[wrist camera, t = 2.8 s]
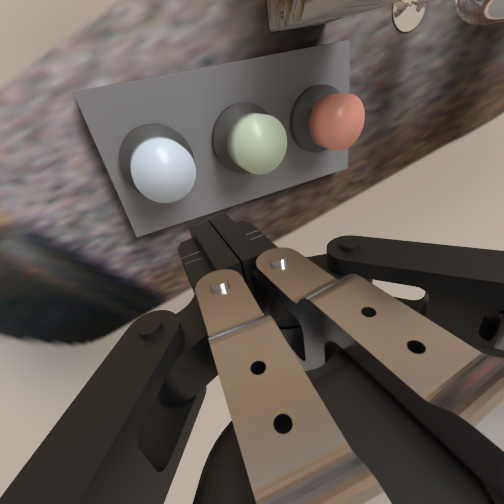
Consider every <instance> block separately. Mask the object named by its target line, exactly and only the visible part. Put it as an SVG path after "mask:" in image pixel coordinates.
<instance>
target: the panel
mask: <svg viewBox="0 0 504 504" xmlns="http://www.w3.org/2000/svg"><path fill="white" fill-rule="evenodd" d="M349 83H350V40H346V41H341V42H336V43H330V44H325V45H320V46H314V47H309V48H304V49H299V50H293V51H288V52H283V53H277V54H272V55H267V56H261V57H256V58H251V59H246V60H240V61H235V62H230V63H224V64H219V65H214V66H209V67H203V68H198V69H193V70H187V71H182V72H177V73H172V74H166V75H161V76H156V77H150V78H145V79H140V80H134V81H129V82H124V83H119V84H113V85H108V86H103V87H97V88H92V89H87V90H82V91H76V92H73V94H74V96H75V98H76V100H77V103H78V105H79V107H80V110H81V112H82V114H83V116H84V119H85V121H86V123H87V125H88V128H89V130H90V132H91V135H92V137H93V139H94V141H95V144H96V146H97V148H98V150H99V153H100V155H101V157H102V159H103V162H104V164H105V166H106V169H107V171H108V173H109V175H110V178H111V180H112V182H113V184H114V187H115V189H116V191H117V193H118V196H119V198H120V200H121V203H122V205H123V207H124V209H125V212H126V214H127V216H128V218H129V221H130V223H131V225H132V228H133V230H134V232H135V234H136V237H140V236H143V235H146V234H149V233H152V232H155V231H158V230H161V229H164V228H167V227H170V226H173V225H176V224H179V223H182V222H185V221H188V220H192V219H195V218H198V217H201V216H204V215H207V214H210V213H213V212H216V211H219V210H222V209H225V208H228V207H231V206H234V205H237V204H240V203H243V202H246V201H249V200H252V199H256V198H259V197H262V196H265V195H268V194H271V193H274V192H277V191H280V190H283V189H286V188H289V187H292V186H295V185H298V184H301V183H304V182H307V181H310V180H313V179H316V178H319V177H323V176H326V175H329V174H332V173H335V172H338V171H341V170H344V169H347V168H348V148H347V149H344V150H340V151H337V150H332V149H328V148H324V147H321V146H319V145H317V144H316V143H315V142H314V141H313V140H312V138H311V136H310V132H309V118H310V114H311V111H312V109H313V107H314V106H315V104H316V103H317V102H318V100H319V99H321V98H322V97H323V96H325V95H327V94H331V93H349ZM248 113H259V114H266V115H270V116H273V117H275V118H276V119H277V120H279V121H280V122H281V124H282V125H283V127H284V129H285V131H286V135H287V149H286V153H285V156H284V158H283V160H282V162H281V163H280V164H279V165H278V167H276V168H275V169H274V170H273V171H271V172H269V173H266V174H261V175H258V174H253V173H250V172H248V171H247V170H245V169H243V168H241V167H239V166H238V165H237V164H236V163H235V162H234V161H233V160H232V159H231V157H230V155H229V152H228V147H227V138H228V134H229V131H230V128H231V126H232V125H233V123H234V122H235V121H236V120H237V119H238V118H240V117H241V116H243V115H245V114H248ZM154 136H163V137H167V138H170V139H172V140H174V141H176V142H177V143H178V144H180V145H181V146H183V147H184V148H185V149H186V150H187V151H188V152H189V153H190V155H191V156H192V158H193V160H194V163H195V167H196V178H195V182H194V185H193V187H192V189H191V190H190V192H189V193H188V194H187V195H186V196H185V197H183V198H182V199H180V200H178V201H175V202H171V203H159V202H155V201H153V200H150V199H148V198H147V197H145V196H144V195H143V194H142V193H141V192H140V191H139V190H138V189H137V187H136V186H135V183H134V181H133V178H132V175H131V171H130V158H131V154H132V152H133V150H134V148H135V147H136V146H137V145H138V144H139V143H140V142H141V141H143V140H145V139H147V138H149V137H154Z"/></svg>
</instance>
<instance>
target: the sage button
mask: <svg viewBox="0 0 504 504" xmlns="http://www.w3.org/2000/svg"><path fill="white" fill-rule="evenodd" d="M227 147H228V152H229V155H230V157H231V159H232V160H233V161H234V162H235V163H236V164H237V165H238V166H239V167H241V168H243V169H245V170H247V171H248V172H250V173H253V174H258V175H261V174H266V173H269V172H271V171H273V170H274V169H275V168H276V167H278V165H279V164H280V163H281V162H282V160H283V158H284V156H285V153H286V149H287V135H286V131H285V129H284V127H283V125H282V124H281V122H280V121H279V120H277V119H276V118H275V117H273V116H270V115H266V114H259V113H248V114H245V115H243V116H241V117H240V118H238V119H237V120H236V121H235V122H234V123H233V125H232V126H231V128H230V131H229V134H228V138H227Z"/></svg>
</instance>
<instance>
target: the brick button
mask: <svg viewBox="0 0 504 504" xmlns="http://www.w3.org/2000/svg"><path fill="white" fill-rule="evenodd" d="M364 120H365V112H364V107H363V104H362V102H361V100H360V99H359V98H358V97H357V96H356V95H354V94H350V93H331V94H327V95H325V96H323V97H322V98H321V99H319V100H318V102H317V103H316V104H315V106H314V107H313V109H312V111H311V114H310V118H309V132H310V136H311V138H312V140H313V141H314V142H315V143H316V144H317V145H319V146H321V147H324V148H328V149H332V150H337V151H340V150H344V149H347V148H349V147H350V146H351V145H352V144H354V142H355V141H356V140H357V139H358V137H359V135H360V134H361V131H362V129H363V125H364Z"/></svg>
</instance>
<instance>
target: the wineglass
mask: <svg viewBox="0 0 504 504" xmlns="http://www.w3.org/2000/svg"><path fill="white" fill-rule="evenodd" d="M432 1H435V0H403V1H400V2H396V3H393V20H394V23H395V25H396V27H397V28H398V29H399V30H400V31H402V32H409V31H411V30H413V29H414V28H415V27H416V26H417V25H418V24H419V22H420V21H421V19H422V17H423V14H424V12H425V8H426V3H428V2H432ZM455 5H456V10H457V12H458V14H459V16H460V17H461V18H462V19H463V20H464V21H465V22H467V23H469V24H472V25H490V24H495V23H499V22H503V21H504V0H455Z"/></svg>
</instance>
